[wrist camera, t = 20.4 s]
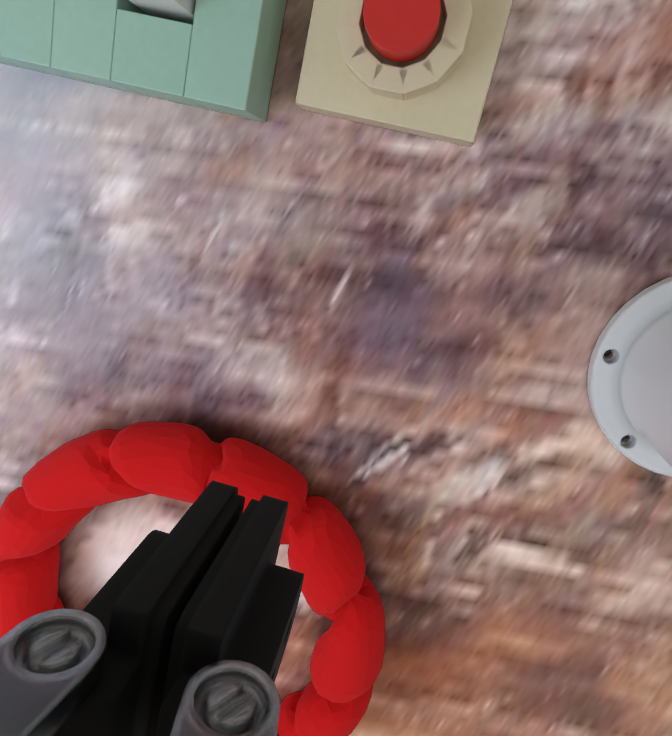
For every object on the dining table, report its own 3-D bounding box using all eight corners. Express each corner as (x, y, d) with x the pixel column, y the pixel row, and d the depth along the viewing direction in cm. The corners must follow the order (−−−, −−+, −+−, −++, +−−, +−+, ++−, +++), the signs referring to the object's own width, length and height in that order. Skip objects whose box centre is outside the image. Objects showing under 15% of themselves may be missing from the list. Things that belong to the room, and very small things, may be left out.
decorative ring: (5, 362, 35) (-86, 734, 41) (458, 547, 34) (291, 901, 40) (72, 346, 42) (-15, 665, 48) (449, 498, 41) (308, 806, 47)
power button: (448, -13, 27) (450, -28, 25) (428, 68, 28) (429, 59, 26) (376, -27, 27) (372, -42, 26) (359, 54, 28) (355, 44, 27)
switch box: (520, -33, 29) (534, -70, 26) (470, 147, 32) (476, 138, 28) (336, -68, 30) (323, -109, 26) (302, 110, 33) (286, 96, 29)
